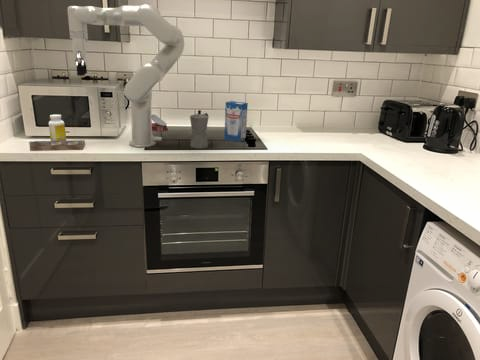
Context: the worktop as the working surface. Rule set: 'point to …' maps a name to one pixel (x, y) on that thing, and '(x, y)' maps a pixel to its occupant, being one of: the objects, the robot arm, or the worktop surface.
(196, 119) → the coffeepot
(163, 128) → the canned food
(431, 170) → the worktop surface
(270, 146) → the worktop surface
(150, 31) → the robot arm
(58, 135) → the supplement bottle
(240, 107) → the milk carton
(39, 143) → the shelf
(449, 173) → the worktop surface
